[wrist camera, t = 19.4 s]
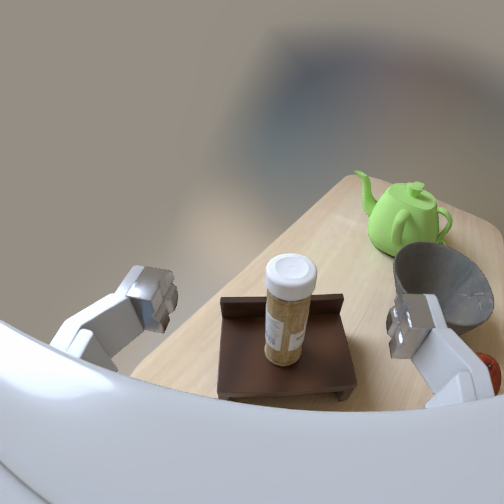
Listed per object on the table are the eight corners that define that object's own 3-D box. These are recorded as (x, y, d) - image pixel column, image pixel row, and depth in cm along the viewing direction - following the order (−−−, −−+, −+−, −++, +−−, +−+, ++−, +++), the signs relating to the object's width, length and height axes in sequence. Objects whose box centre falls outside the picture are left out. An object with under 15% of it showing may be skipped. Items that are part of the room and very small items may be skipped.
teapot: (447, 264, 51) (470, 208, 43) (374, 272, 51) (393, 206, 42) (411, 220, 66) (423, 170, 58) (345, 220, 66) (353, 165, 57)
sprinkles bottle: (304, 364, 31) (324, 282, 23) (266, 369, 31) (269, 287, 22) (297, 334, 34) (310, 249, 26) (261, 338, 34) (262, 252, 26)
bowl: (459, 382, 30) (495, 343, 24) (359, 337, 39) (379, 291, 33) (470, 305, 42) (493, 266, 35) (392, 270, 51) (406, 228, 45)
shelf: (221, 407, 31) (213, 380, 26) (225, 333, 41) (220, 296, 36) (346, 400, 31) (365, 371, 26) (331, 329, 41) (342, 293, 36)
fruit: (432, 409, 28) (463, 382, 23) (447, 363, 33) (472, 332, 28) (475, 428, 23) (509, 403, 18) (486, 381, 29) (514, 352, 24)
